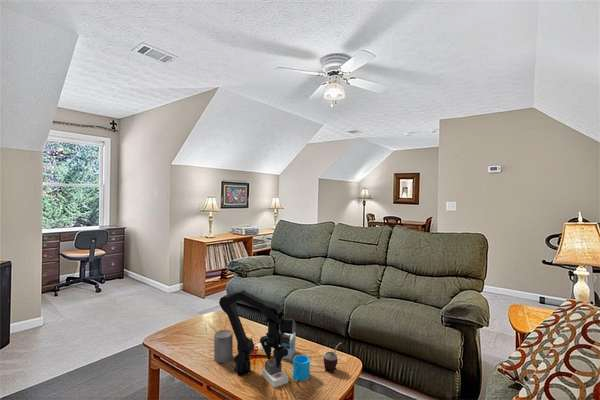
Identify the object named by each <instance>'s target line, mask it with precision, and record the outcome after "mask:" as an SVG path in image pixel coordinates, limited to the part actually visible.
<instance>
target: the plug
mask: <svg viewBox="0 0 600 400" xmlns="http://www.w3.org/2000/svg"><path fill="white" fill-rule="evenodd" d="M282 365H283V364H282V362H281V363H280V366H279V368H277V367H276V364H275V360H274V358H273V359H267V360H266V361H264V368H265V370H266V371H267V373H268V374H269V375H272V374H275V373H278V372H281V371H283V370H282Z"/></svg>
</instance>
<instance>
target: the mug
mask: <svg viewBox="0 0 600 400" xmlns="http://www.w3.org/2000/svg"><path fill="white" fill-rule="evenodd" d="M310 363H311V359H310V357H309V356H307V355H304V354H299V355H298V354H297V355H295V356H293V357H292V364H293V365H292V368H293V369H292V378H293V380H295V381H306V380H309V378H310V369H311V364H310Z"/></svg>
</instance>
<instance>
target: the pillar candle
mask: <svg viewBox="0 0 600 400" xmlns="http://www.w3.org/2000/svg"><path fill="white" fill-rule="evenodd" d="M233 333H234V331H232V330H230V329H220V330H216V332H214V334H213V335H214V337H213V339H214V341H213V342H214V344H213V347H214V348H213V349H214V351H213V353H214V354H213V358H214V359H213V360H214V362H215V363H217V364H222V363H223V364H224V363H228V362H230V361H232V360H233V357H234V353H233V352H234V351H233V349H234V348H233V345H234V344H233V343H234V342H233V340H234V339H233Z"/></svg>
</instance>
